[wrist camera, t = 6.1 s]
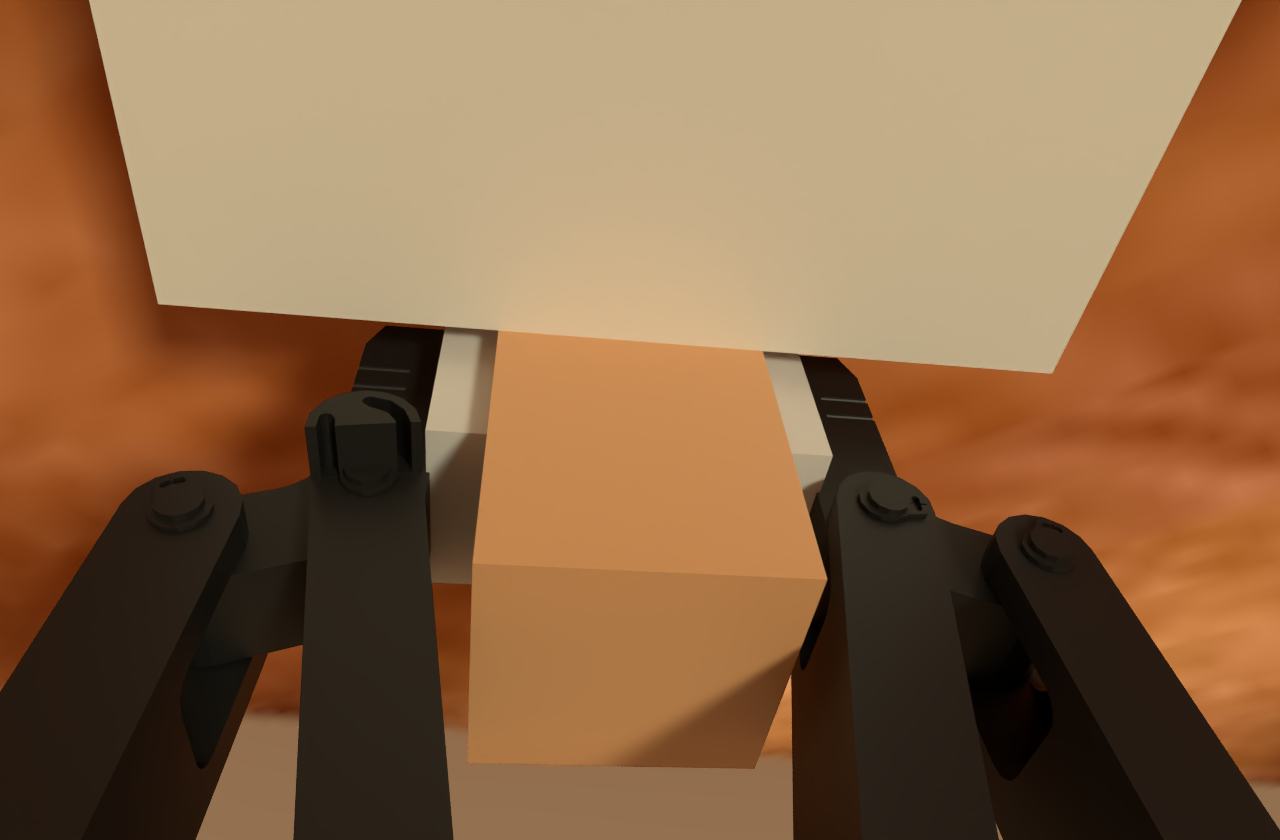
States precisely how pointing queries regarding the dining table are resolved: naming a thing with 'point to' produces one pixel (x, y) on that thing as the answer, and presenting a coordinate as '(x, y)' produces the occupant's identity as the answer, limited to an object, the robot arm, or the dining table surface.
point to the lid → (650, 272)
